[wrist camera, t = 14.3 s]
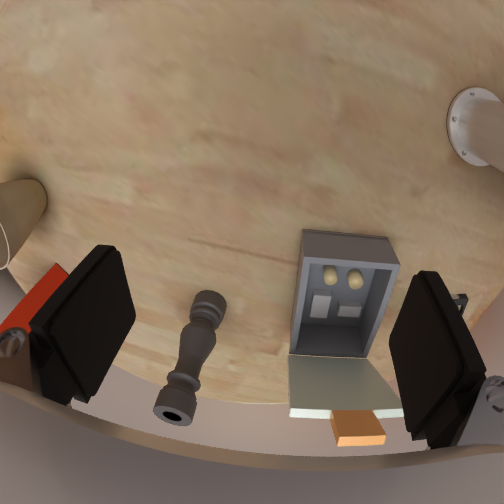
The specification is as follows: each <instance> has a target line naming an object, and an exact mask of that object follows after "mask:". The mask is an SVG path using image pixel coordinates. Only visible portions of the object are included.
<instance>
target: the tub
mask: <svg viewBox="0 0 504 504" xmlns="http://www.w3.org/2000/svg"><path fill="white" fill-rule="evenodd" d="M399 268H400V262H399V260H398V258H397V256H396V254H395V252H394V250H393V248H392V246H391V244H390V242H389V240H388V238H387V237H379V236H369V235H359V234H349V233H338V232H327V231H316V230H305V229H303V231H302V240H301V249H300V257H299V265H298V273H297V281H296V289H295V296H294V304H293V311H292V318H291V330H290V349H289V354H296V355H311V356H329V357H355V358H366V357H367V355H368V353H369V350H370V348H371V345H372V343H373V340H374V338H375V336H376V333H377V330H378V328H379V325H380V323H381V320H382V317H383V315H384V312H385V309H386V307H387V304H388V301H389V298H390V295H391V292H392V289H393V286H394V283H395V280H396V277H397V274H398V271H399Z"/></svg>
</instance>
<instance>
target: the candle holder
mask: <svg viewBox="0 0 504 504" xmlns="http://www.w3.org/2000/svg"><path fill="white" fill-rule="evenodd" d="M225 310H226V301H225V299H224V298H223V297H222V296H221V295H220V294H219V293H217V292H214V291H210V290H205V291H201V292H199V293H198V294H197V295H196V297H195V300H194V302H193V305H192V307H191V310H190V312H191V313H190V316H189V317H190V323H189V324H187V325H186V326H185V327H184V328H183V330H182V332H181V335H180V347H179V359H178V362H177V364H176V367H175V370H173V371H171V372H169V373H168V376H167V381H168V384H167V385H166V386H164V387H163V389H161V390H160V392H159V395H158V398H157V400H156V403H155V406H154V408H153V412H154V414H155V415H156V416H157V417H158V418H160V419H161V420H163V421H165V422H168V423H170V424H173V425H178V426H187V425H190V424H191V423H192V420H193V416H194V413H195V410H196V406H197V402H196V396H195V392H196V391H198V390H199V389H200V386H201V385H200V381H199V380H198V377H199V374H200V370H201V367H202V365H203V363H204V362H205V360H206V359H207V357H208V356H209V354H210V353H211V351H212V350H213V348H214V346H215V344H216V334H215V332H214V330H216V329H217V328H218V327H219V325H220V323H221V321H222V320H223V317H224V313H225Z"/></svg>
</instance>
